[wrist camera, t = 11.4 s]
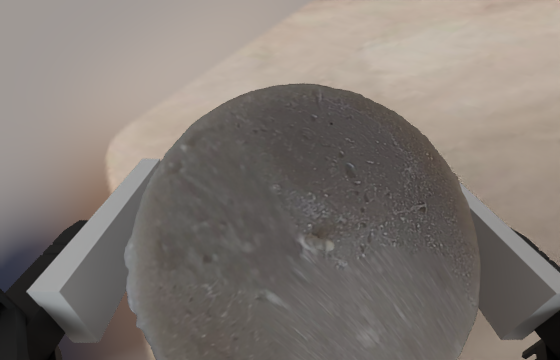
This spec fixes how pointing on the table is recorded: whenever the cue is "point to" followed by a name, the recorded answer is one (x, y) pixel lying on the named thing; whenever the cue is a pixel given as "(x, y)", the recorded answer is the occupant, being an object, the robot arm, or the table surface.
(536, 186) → the table surface
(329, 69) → the table surface
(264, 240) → the pillar candle
